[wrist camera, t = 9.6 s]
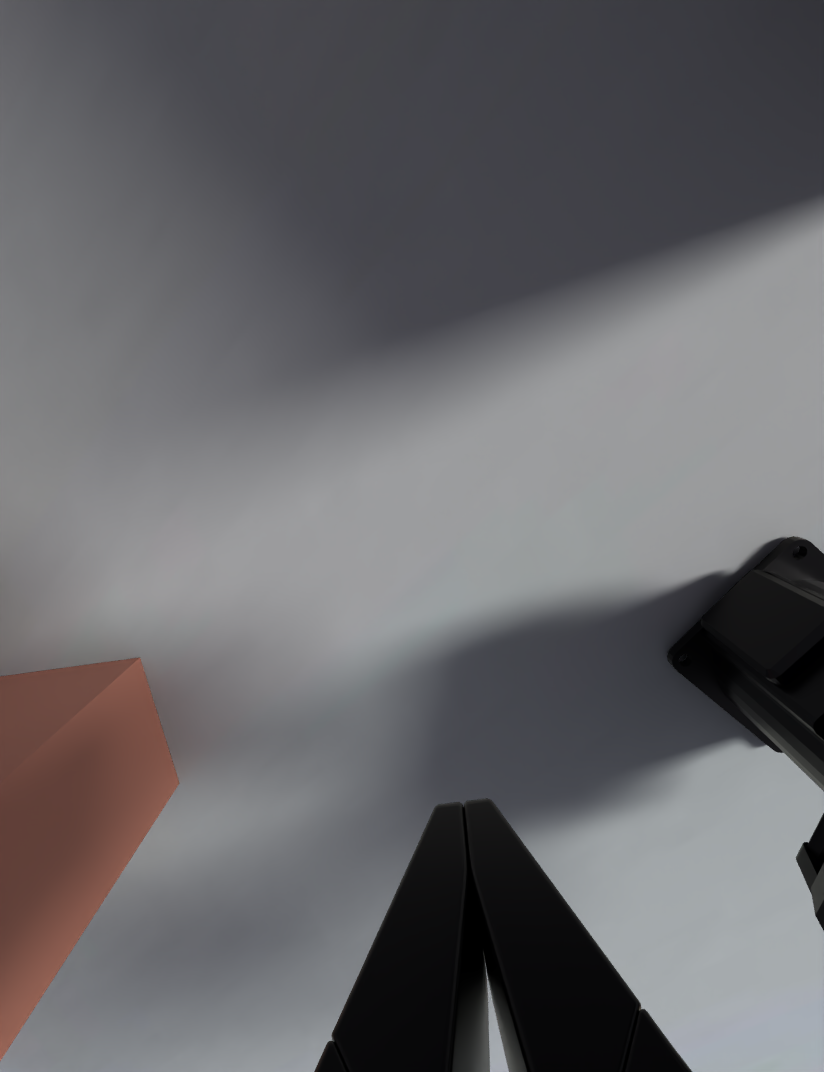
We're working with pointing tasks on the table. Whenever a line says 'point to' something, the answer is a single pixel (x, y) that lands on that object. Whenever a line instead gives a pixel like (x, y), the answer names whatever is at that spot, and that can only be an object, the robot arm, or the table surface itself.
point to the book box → (69, 812)
